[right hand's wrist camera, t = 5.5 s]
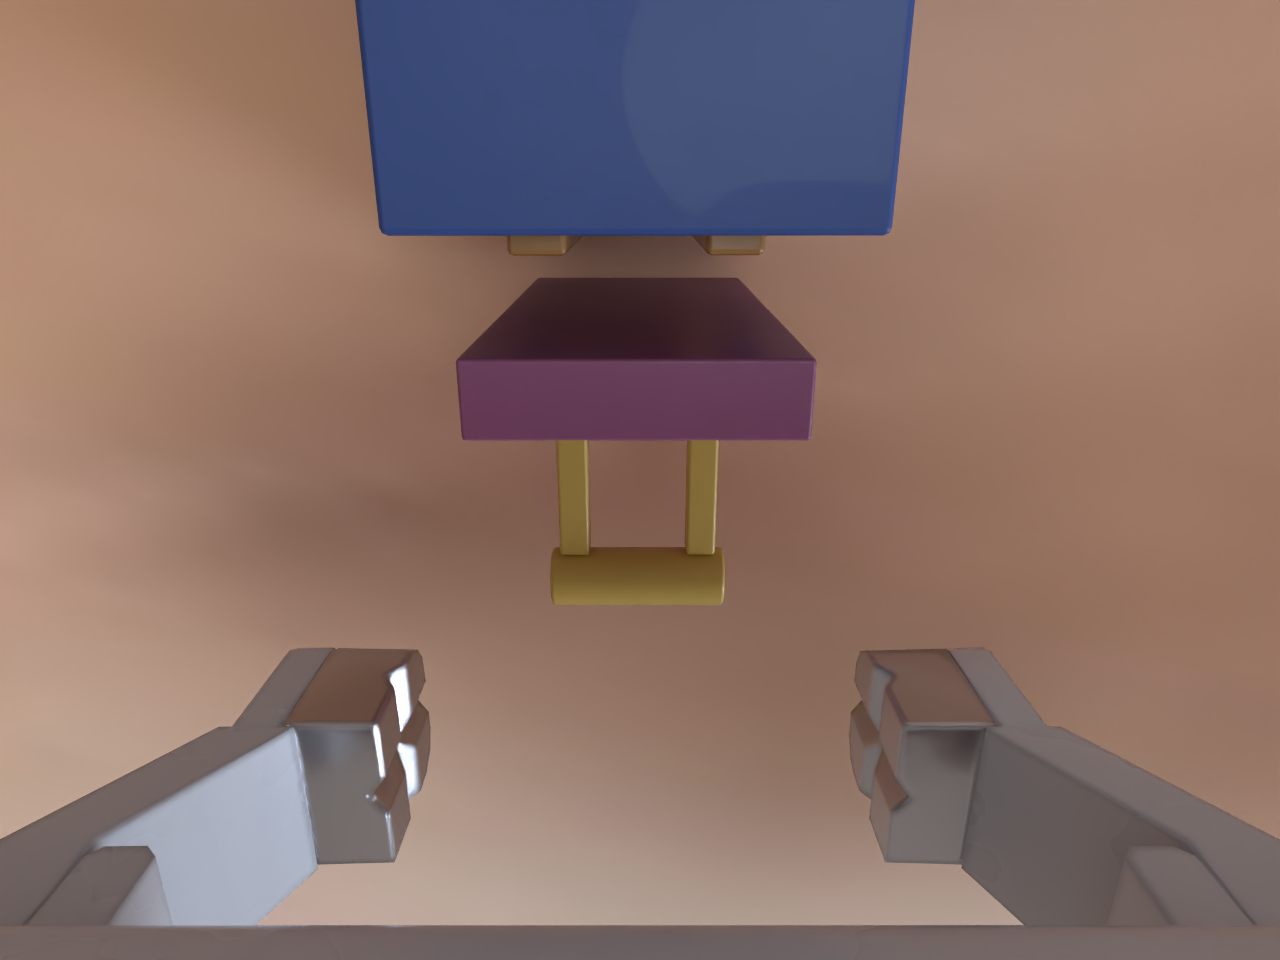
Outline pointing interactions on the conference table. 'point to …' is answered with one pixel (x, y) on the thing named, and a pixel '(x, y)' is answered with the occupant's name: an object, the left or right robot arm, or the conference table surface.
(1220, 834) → the right robot arm
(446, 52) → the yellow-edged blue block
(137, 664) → the conference table surface
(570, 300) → the drawer
